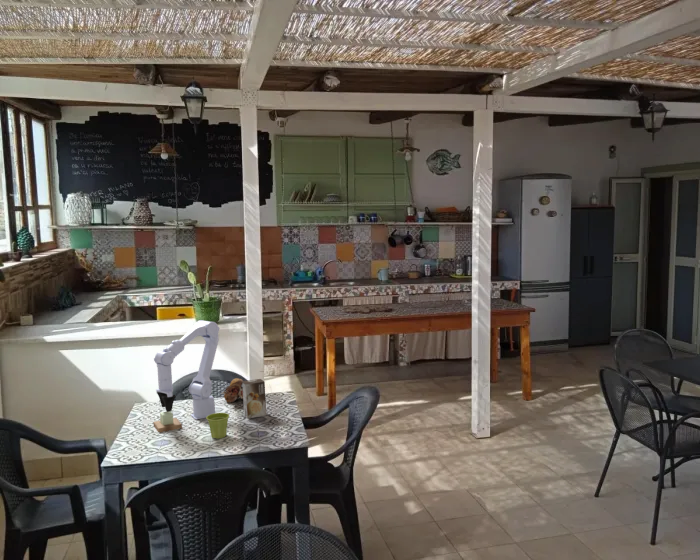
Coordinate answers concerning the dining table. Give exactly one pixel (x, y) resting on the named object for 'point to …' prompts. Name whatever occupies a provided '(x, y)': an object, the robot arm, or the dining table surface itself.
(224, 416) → the plant pot
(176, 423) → the tan block
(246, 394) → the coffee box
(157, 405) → the dining table surface
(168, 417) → the sage cube
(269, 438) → the dining table surface
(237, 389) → the seed pod
